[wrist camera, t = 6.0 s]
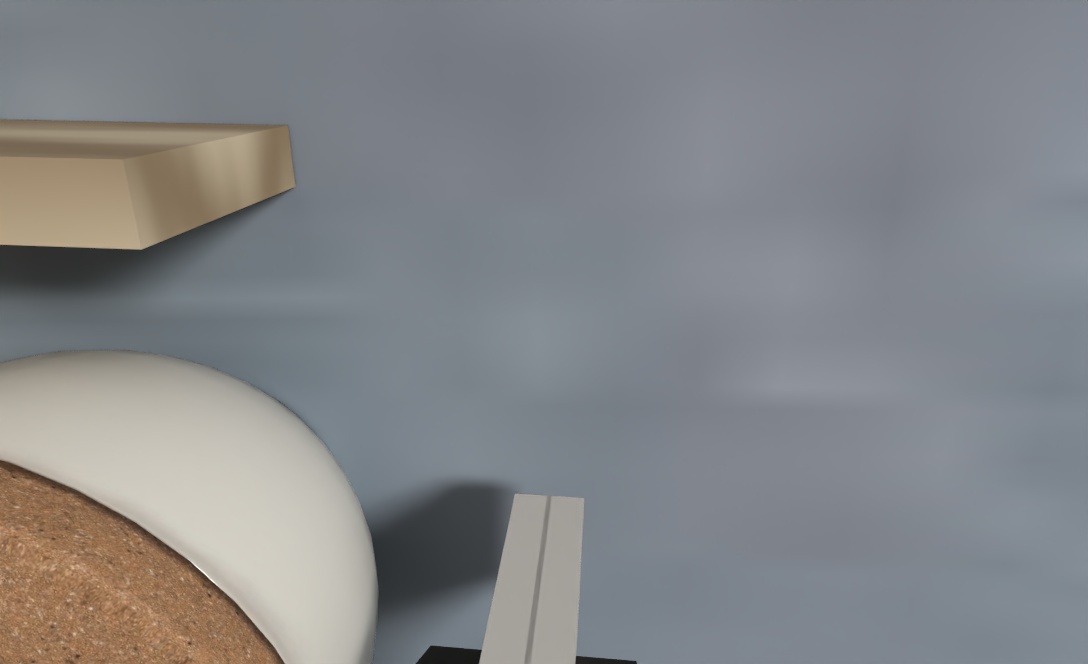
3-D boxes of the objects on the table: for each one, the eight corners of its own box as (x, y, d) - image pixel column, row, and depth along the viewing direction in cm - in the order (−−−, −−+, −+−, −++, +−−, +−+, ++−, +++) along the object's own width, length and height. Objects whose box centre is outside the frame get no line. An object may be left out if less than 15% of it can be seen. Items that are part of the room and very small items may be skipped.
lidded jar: (98, 657, 20) (-311, 1137, 11) (-67, 299, 16) (-898, 596, 7) (469, 647, 18) (341, 1186, 10) (386, 253, 14) (49, 551, 6)
